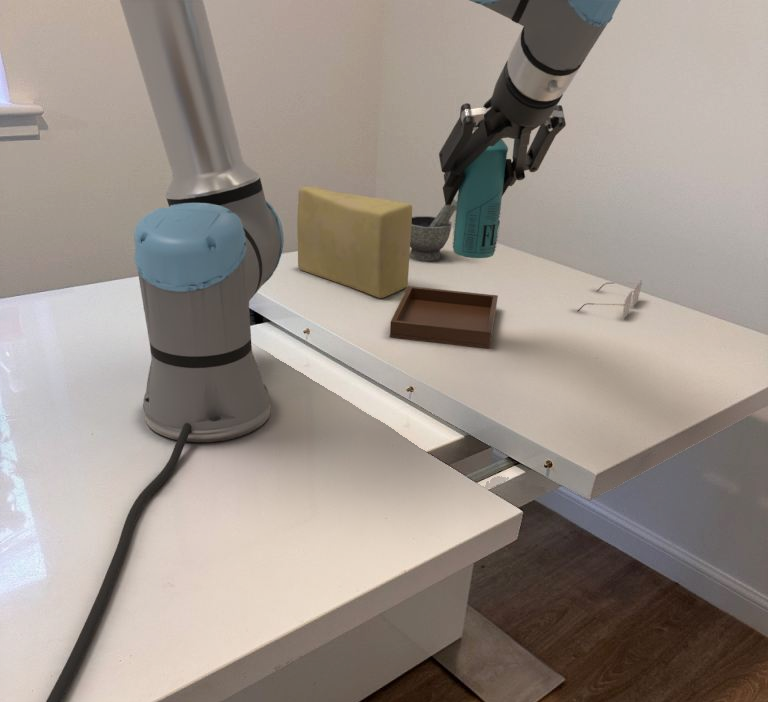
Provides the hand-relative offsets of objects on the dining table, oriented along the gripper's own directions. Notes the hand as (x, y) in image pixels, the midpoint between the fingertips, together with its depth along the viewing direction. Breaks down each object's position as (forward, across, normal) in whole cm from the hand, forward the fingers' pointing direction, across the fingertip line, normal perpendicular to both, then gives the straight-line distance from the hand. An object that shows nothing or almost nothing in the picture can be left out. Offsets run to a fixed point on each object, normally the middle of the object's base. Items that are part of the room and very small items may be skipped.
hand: (470, 196), depth 104 cm
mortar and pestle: (+43, +8, +14) cm, 45 cm away
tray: (+17, 0, -12) cm, 21 cm away
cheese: (+33, -12, +4) cm, 36 cm away
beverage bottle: (+4, 0, -9) cm, 9 cm away
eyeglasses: (+20, +32, -9) cm, 39 cm away
